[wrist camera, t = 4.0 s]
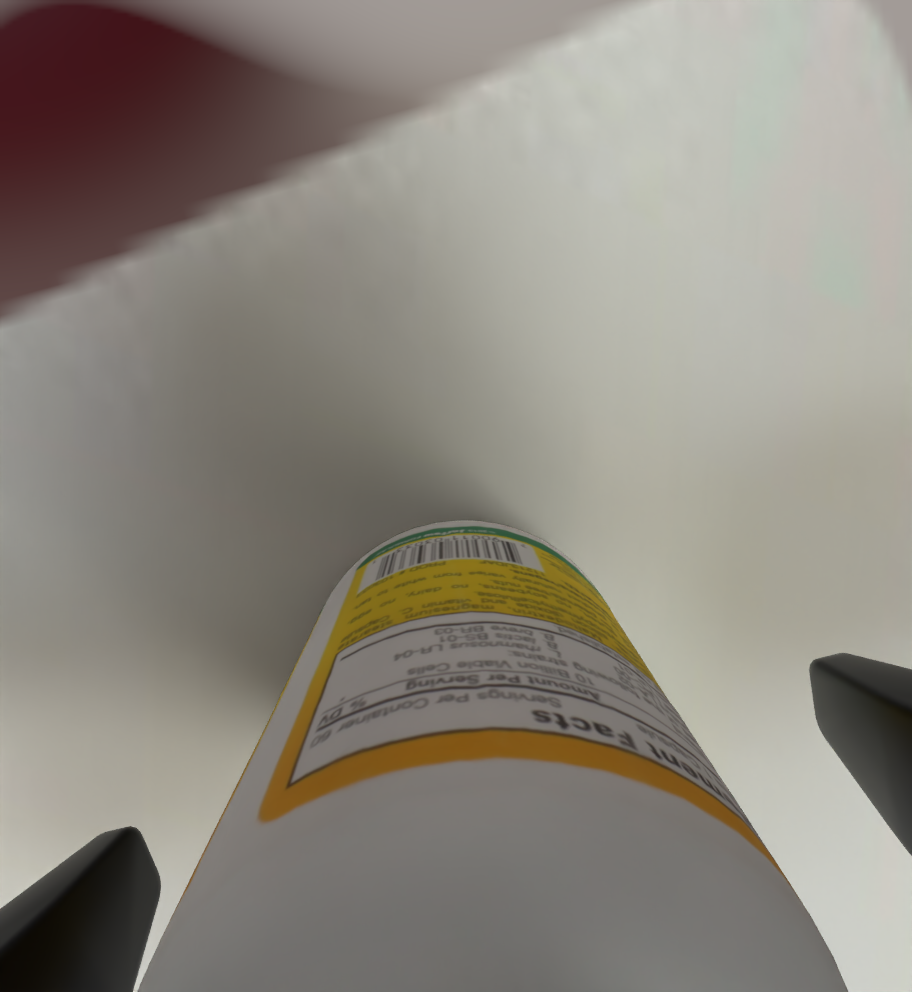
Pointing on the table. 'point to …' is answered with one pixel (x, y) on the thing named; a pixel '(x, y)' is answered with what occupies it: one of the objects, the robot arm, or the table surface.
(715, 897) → the supplement bottle
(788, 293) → the table surface
